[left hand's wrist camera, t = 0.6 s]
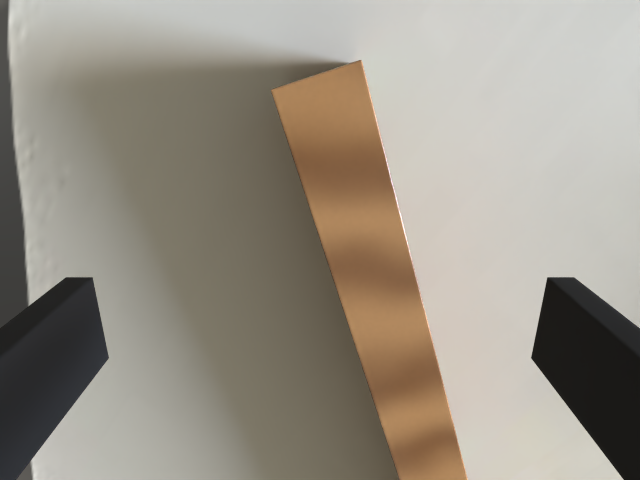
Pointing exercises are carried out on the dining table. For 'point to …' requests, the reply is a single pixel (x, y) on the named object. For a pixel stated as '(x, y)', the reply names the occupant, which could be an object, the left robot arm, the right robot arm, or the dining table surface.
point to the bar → (371, 264)
